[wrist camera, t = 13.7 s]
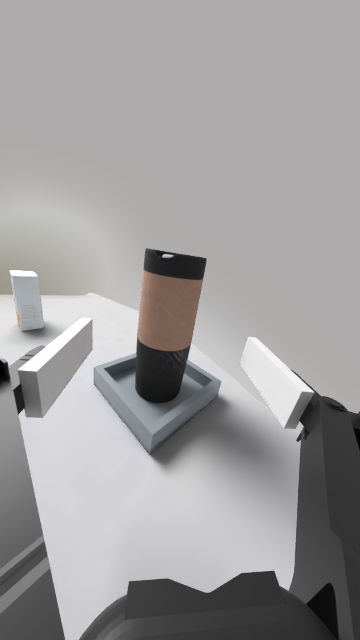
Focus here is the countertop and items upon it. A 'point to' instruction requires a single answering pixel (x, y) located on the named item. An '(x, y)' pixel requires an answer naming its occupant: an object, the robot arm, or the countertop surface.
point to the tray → (154, 418)
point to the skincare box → (27, 299)
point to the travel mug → (166, 322)
